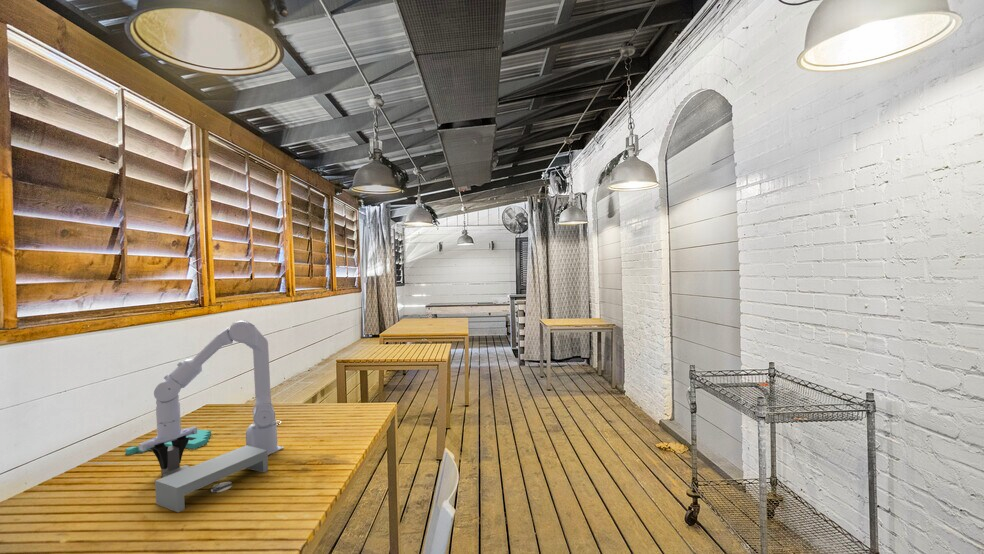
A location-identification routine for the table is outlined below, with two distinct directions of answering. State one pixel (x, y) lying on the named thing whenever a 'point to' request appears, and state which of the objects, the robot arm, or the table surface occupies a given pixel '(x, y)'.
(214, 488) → the steel disc
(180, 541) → the table surface
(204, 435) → the alien figure
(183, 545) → the table surface
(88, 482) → the table surface
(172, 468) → the scraper
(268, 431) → the robot arm
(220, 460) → the grey bench
